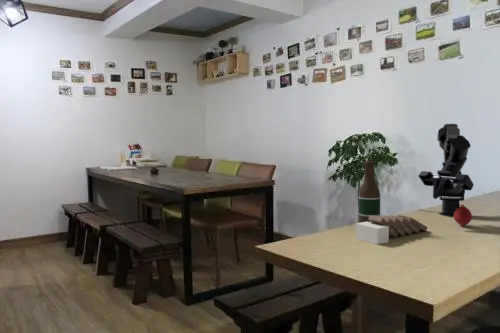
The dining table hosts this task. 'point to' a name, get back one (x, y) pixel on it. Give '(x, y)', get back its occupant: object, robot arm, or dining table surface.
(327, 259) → the dining table surface
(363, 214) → the beer bottle
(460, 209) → the onion
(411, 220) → the domino
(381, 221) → the domino
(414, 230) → the domino
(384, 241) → the end block
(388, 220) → the domino
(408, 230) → the domino
